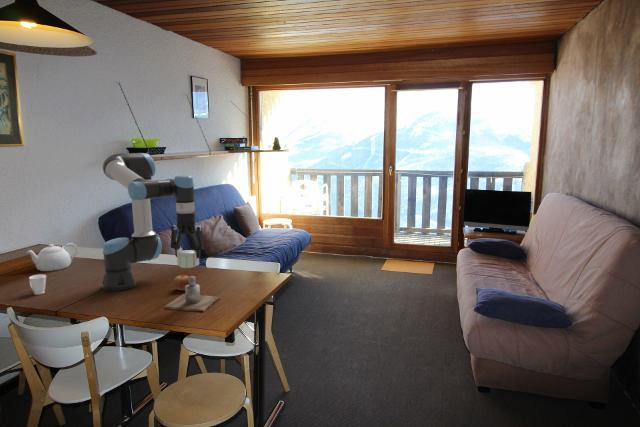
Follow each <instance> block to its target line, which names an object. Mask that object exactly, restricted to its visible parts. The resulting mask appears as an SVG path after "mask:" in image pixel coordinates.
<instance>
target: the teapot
mask: <svg viewBox="0 0 640 427" xmlns="http://www.w3.org/2000/svg"><path fill="white" fill-rule="evenodd" d="M68 246H73V247H74V248H75V253H74V254H73V255H72V256H71V255H70V253H69V252H68V249H67V247H68ZM78 252H79V250H78V247H77V245H76V244H74V243H72V242H69V243H67V244H65V245H64V247H63V246H58V245H54V244H53V243H50V244H48V246H46V247H44V248H43V249H41V250H40V251H39V252H38V254H36V253H35V252H34V251H33V250H32V249H29V250H27V251H26V254H29V255H30V256H31V260H32V262H33V264H34V265H35V267H36V269H37V271H39V270H40V271H39V272H54V270H55V271H60V270H63V269H67V268H68V267H69V266H71V263H72V262H73V259H74V258H75V257H76V256H77V255H78Z"/></svg>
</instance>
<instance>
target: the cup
mask: <svg viewBox="0 0 640 427" xmlns="http://www.w3.org/2000/svg"><path fill="white" fill-rule="evenodd" d="M28 279H29V286H30V288H31V289H32V291H33V294H34V295H42V294H45V291H46V282H47V275H46V274H42V273H41V274H34V275H31V276H29V277H28Z"/></svg>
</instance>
